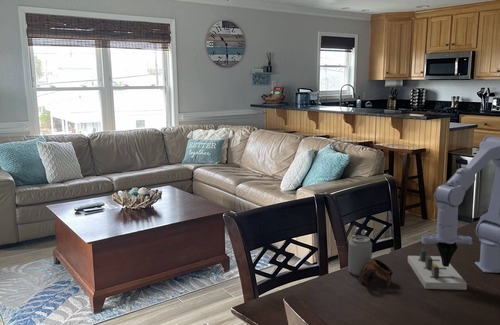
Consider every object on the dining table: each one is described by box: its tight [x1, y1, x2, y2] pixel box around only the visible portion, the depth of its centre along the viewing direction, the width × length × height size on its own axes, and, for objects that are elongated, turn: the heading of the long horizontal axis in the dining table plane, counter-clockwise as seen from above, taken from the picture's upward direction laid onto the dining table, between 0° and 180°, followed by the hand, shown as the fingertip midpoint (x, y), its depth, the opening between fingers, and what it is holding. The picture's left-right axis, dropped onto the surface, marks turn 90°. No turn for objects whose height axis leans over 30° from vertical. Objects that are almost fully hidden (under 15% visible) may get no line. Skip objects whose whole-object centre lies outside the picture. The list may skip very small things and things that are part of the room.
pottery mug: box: [357, 258, 394, 287], centre depth 138 cm, size 12×10×8 cm
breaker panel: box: [407, 248, 468, 291], centre depth 144 cm, size 12×22×6 cm, turn 174°
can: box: [347, 235, 373, 277], centre depth 146 cm, size 8×8×12 cm
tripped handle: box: [432, 264, 439, 278], centre depth 137 cm, size 1×3×4 cm, turn 174°
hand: (445, 265), depth 139 cm, fingers closed
